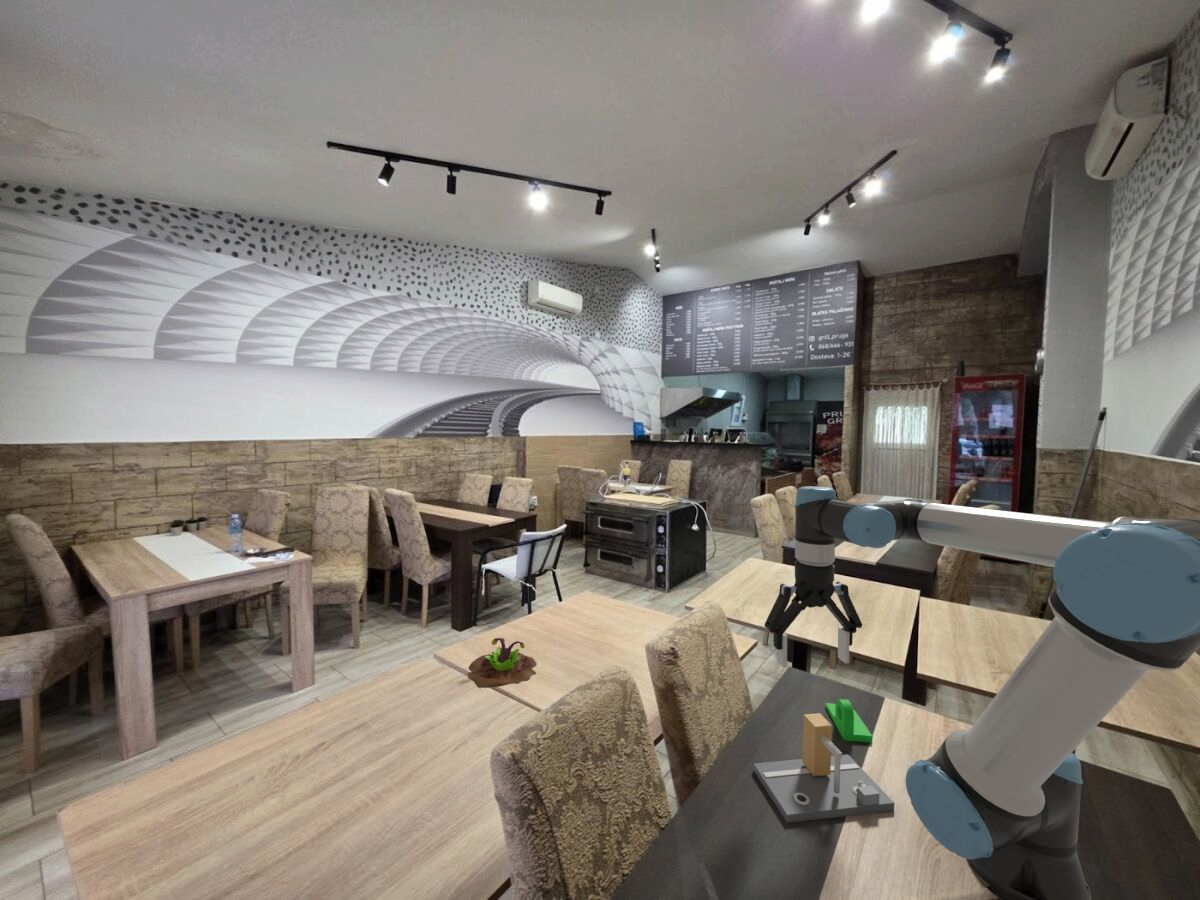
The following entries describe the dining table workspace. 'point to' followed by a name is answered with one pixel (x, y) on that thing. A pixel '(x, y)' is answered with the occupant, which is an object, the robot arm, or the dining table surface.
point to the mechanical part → (848, 721)
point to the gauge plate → (821, 790)
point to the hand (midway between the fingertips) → (812, 662)
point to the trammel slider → (820, 748)
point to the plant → (502, 667)
